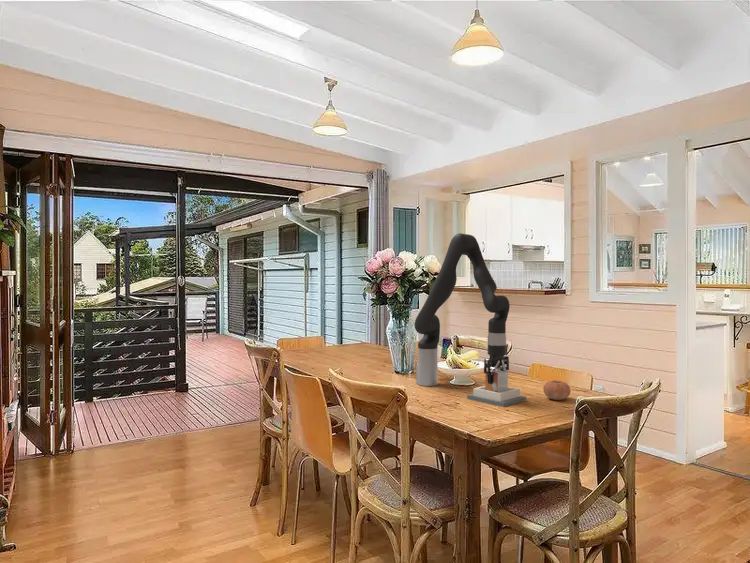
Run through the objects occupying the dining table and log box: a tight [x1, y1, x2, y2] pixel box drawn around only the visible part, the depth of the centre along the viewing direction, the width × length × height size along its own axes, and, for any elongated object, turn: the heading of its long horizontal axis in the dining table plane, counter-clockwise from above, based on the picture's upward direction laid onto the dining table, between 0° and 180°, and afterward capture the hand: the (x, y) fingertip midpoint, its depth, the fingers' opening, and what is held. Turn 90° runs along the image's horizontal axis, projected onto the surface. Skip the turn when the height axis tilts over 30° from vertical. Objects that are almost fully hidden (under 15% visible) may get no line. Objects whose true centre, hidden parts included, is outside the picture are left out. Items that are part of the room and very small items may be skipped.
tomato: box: [542, 380, 572, 401], centre depth 219 cm, size 11×11×8 cm
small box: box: [484, 368, 509, 393], centre depth 217 cm, size 8×6×10 cm
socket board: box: [466, 385, 527, 408], centre depth 217 cm, size 18×16×4 cm
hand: (496, 382), depth 217 cm, fingers open, 8 cm apart
